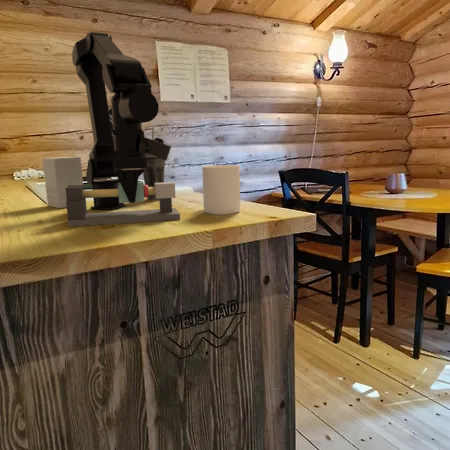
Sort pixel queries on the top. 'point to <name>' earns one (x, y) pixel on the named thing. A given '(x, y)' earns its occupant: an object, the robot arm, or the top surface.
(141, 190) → the sleeve
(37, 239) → the top surface
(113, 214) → the grey peg fixture
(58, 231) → the top surface
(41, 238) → the top surface
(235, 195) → the mug
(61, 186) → the supplement box
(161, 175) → the beverage cup
